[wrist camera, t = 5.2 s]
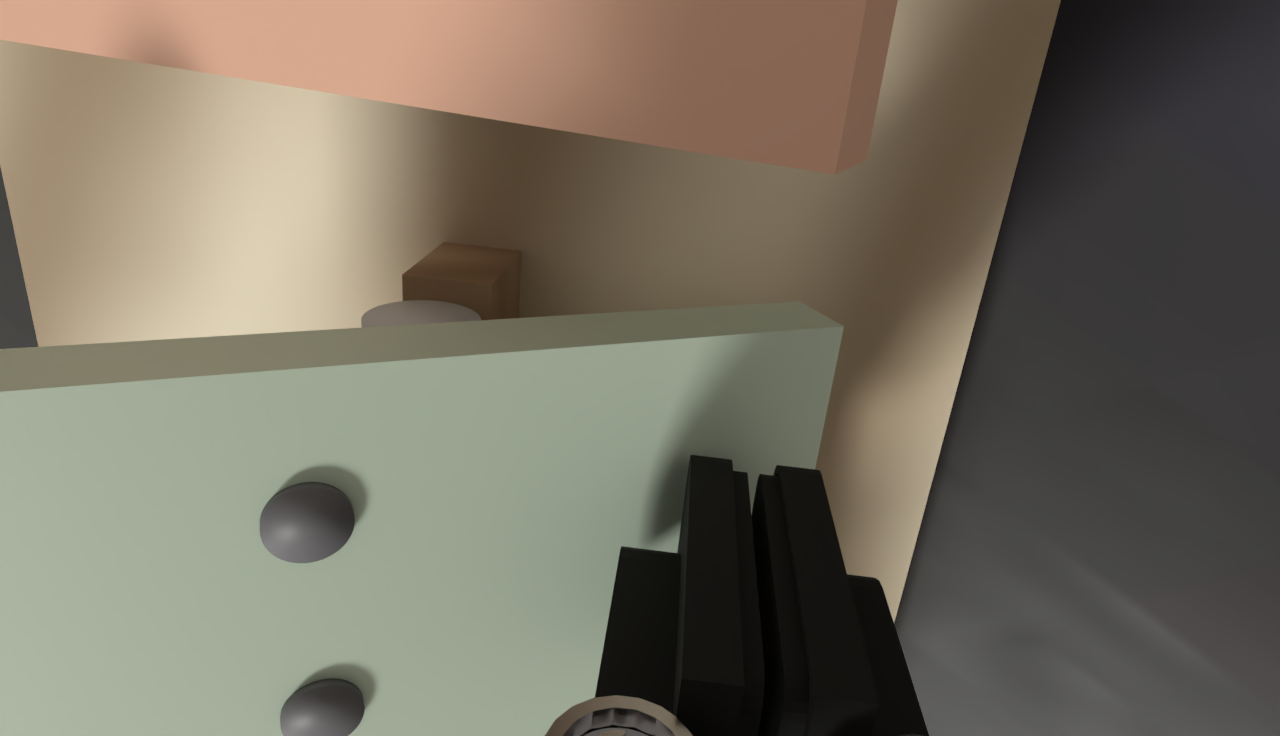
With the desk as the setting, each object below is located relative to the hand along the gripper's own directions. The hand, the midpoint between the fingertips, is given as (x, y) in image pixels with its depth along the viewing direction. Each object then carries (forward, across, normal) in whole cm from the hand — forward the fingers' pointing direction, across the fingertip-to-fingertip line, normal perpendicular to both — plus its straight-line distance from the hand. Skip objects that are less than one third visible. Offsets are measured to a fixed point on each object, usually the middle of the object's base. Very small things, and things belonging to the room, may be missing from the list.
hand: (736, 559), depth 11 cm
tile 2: (0, +4, 0) cm, 4 cm away
